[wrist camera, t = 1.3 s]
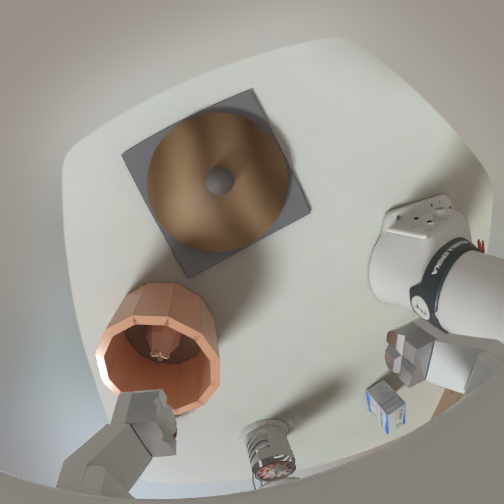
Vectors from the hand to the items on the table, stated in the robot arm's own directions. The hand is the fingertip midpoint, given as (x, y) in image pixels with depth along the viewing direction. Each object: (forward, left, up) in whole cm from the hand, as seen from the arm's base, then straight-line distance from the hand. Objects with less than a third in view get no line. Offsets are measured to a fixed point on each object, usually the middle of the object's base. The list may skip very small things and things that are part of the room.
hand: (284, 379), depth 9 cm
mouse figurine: (+13, +7, -28) cm, 32 cm away
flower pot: (+13, +8, -28) cm, 32 cm away
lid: (-3, -6, -28) cm, 28 cm away
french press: (+12, +38, -28) cm, 49 cm away
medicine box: (-12, +44, -28) cm, 53 cm away
